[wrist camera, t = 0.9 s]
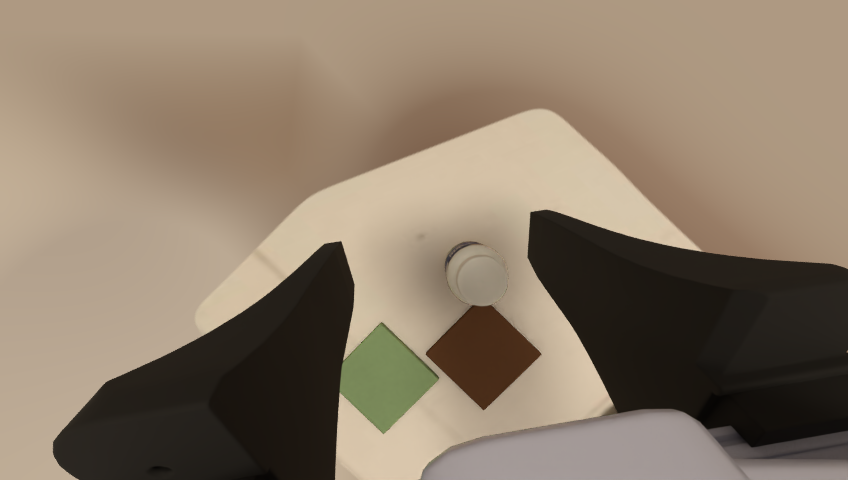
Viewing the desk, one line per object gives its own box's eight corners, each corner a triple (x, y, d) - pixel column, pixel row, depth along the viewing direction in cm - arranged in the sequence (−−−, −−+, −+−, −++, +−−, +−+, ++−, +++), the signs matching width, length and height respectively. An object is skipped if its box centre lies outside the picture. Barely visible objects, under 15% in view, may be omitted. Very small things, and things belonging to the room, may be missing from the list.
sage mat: (438, 376, 34) (438, 379, 33) (384, 430, 34) (383, 434, 34) (381, 322, 34) (380, 323, 33) (328, 376, 34) (326, 379, 34)
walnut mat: (539, 352, 33) (541, 354, 33) (483, 407, 34) (483, 410, 33) (481, 296, 33) (482, 297, 33) (425, 352, 34) (425, 354, 33)
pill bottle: (488, 236, 33) (510, 241, 23) (497, 283, 33) (523, 308, 23) (440, 246, 33) (442, 254, 23) (449, 293, 33) (455, 320, 24)
